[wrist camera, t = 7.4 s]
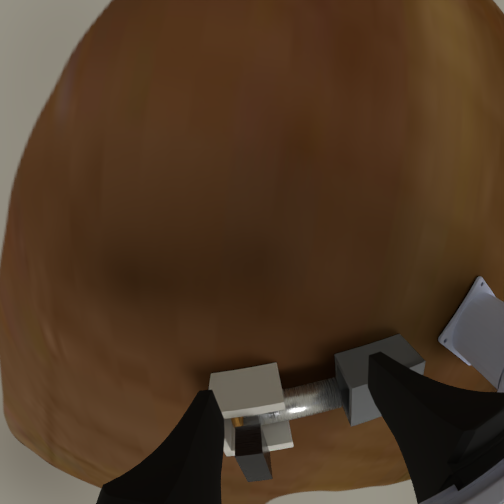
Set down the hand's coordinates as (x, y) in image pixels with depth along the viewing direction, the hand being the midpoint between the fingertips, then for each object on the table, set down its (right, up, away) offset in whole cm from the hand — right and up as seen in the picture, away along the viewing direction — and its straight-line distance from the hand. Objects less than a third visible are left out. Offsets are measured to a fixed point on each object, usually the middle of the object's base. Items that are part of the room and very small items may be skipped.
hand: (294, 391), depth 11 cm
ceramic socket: (-2, -6, +12) cm, 13 cm away
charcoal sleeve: (+9, -4, +12) cm, 15 cm away
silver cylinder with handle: (+1, -6, +11) cm, 12 cm away
